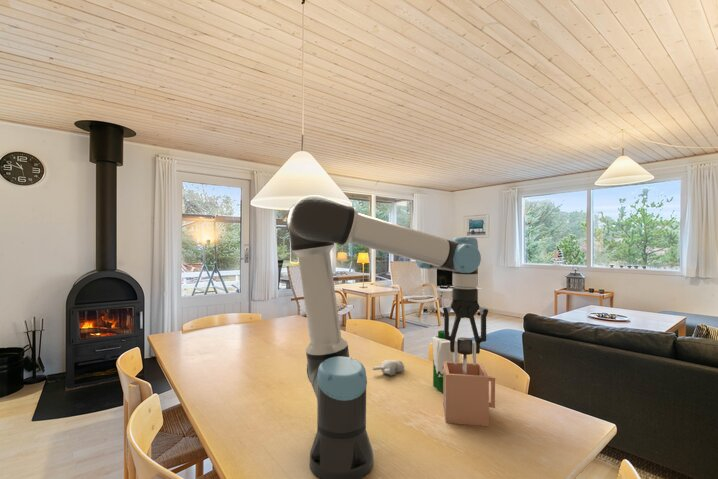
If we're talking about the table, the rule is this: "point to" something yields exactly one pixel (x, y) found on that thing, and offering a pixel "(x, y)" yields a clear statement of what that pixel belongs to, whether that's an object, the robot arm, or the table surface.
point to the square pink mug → (467, 394)
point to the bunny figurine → (390, 367)
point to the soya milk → (441, 358)
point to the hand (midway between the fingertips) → (464, 363)
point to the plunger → (464, 350)
